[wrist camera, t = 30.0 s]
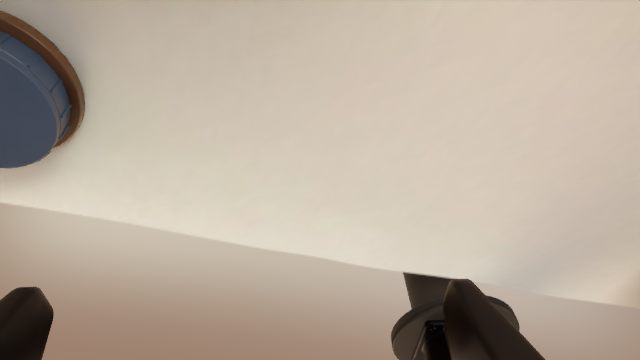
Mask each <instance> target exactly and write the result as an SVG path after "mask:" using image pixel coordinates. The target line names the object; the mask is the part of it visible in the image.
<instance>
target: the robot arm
mask: <svg viewBox="0 0 640 360" xmlns="http://www.w3.org/2000/svg"><path fill="white" fill-rule="evenodd" d="M443 312H444V318H445V320H429V321H426V322H425V323H424V325H423V327H422V330H421V333H420V336H419V339H418V341H417V344H416V347H415V350H414V352H413V355H412V358H411V360H545V359H544V358H543V357H542V356H541V355H540V353H539V352H538V351H537V350H536V349H535V348H534V347H533V346H532V345H531V344H530V343H529V342H528V341H527V340H526V338H525V337H524V336H523V335H522V334H521V333H520V332H519V331H518V330H517V329H516V328H515V327H514V326H513V325H512V324H511V322H510V321H509V320H508V319H507V318H506V317H505V316H504V315H503V314H502V313H501V312H500V311H499V310H498V309H497V307H496V306H495V305H494V304H493V303H492V302H491V301H490V300H489V299H488V298H487V297H486V296H485V295H484V294H483V293H482V292H481V291H480V289H479V288H478V287H477V286H476V285H475V284H474V283H473V282H472V281H471V280H469V279H452V280H451V281H450V283H449V285H448V288H447V291H446V294H445V297H444V300H443ZM52 321H53V309H52V306H51V305H50V303H49V302H48V300H47V299H46V297H45V296H44V294H43V293H42V291H41V290H40V289H39V288H37V287H19V288H16V289H14V290H13V291H11V292H10V293H9V294H7V295H6V296H5V297H4V298H2V299H1V300H0V360H42V356H43V353H44V349H45V345H46V342H47V338H48V335H49V331H50V328H51V324H52Z"/></svg>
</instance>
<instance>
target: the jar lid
mask: <svg viewBox="0 0 640 360" xmlns="http://www.w3.org/2000/svg"><path fill="white" fill-rule="evenodd" d="M62 82H63V81H62V80H60V79H59V77H58V76H57V74H56V73H55V71H54V70H53V69H52V68H51V67H50V66H49V64H48V63H47V62H46V61H45V60H44V59H43V58H42V56H41V55H40V54H37V53H36V52H35V51H33V50H32V49H31V48H29V47H28V46H27V45H25V44H24V43H22V42H20V41H19V40H17V39H16V38H14V37H12V36H11V34H9V33H8V34H6V33H4V32H1V31H0V168H18V167H24V166H28V165H31V164H34V163H36V162H38V161H40V160H41V159H43V158H44V157H45V156H46V155H48V154H49V153H50V151H51V150H52V149H53V147H54V146H55V145H56V143H57V142H58V140H59V139H60V140H61V138H62V137H63V136H64V134H65V133H66V131H67V130H68V129H69V127H70V126H69V125H68V124H69V121H70V113H71V110H70V108H71V107H72V105H71V104H70V102H69V98H68V95H67V92H66V90H65V88H64V86H63V84H62Z"/></svg>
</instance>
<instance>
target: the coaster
mask: <svg viewBox="0 0 640 360" xmlns="http://www.w3.org/2000/svg"><path fill="white" fill-rule="evenodd" d="M0 31H1V32H4V33H6V34H8V33H9V34H11V36H12V37H14V38H16V39H17V40H19V41H20V42H22V43H24V44H25V45H27V46H28V47H29V48H31V49H32V50H33V51H35V52H36V53H37V54H40V55H41V56H42V58H43V59H44V60H45V61H46V62H47V63H48V64H49V66H50V67H51V68H52V69H53V70H54V71H55V73H56V74H57V76H58V77H59V79H60V80H62V81H63V82H62V84H63V86H64V88H65V90H66V92H67V95H68V98H69V102H70V104H71V105H72V107H71V108H70V110H71V113H70V121H69V124H68V125H69V126H70V127H69V129H68V130H67V131H66V133H65V134H64V136H63V137H62V138H61V140H60V139H59V140H58V142H57V143H56V145H55V146H54V147H53V149H55V148H57V147H59V146H61V145H62V144H64V143H65V142H67V141H68V140H69V139H70V138H71V137H72V136H73V134H74V133H75V131H76V130H77V129H78V127H79V126H80V123H81V121H82V119H83V115H84V106H85V102H84V94H83V90H82V87H81V84H80V81H79V79H78V76H77V74H76V73H75V71H74V69H73V67H72V66H71V64H70V63H69V62H68V60H67V59H66V57H65V56H64V55H63V54H62V53H61V52H60V50H59V49H58V48H57V47H56V46H55V45H54V44H53V43H52V42H51V41H49V40H48V39H47V38H46V37H45V36H44V35H42V34H41V33H40V32H38V31H37V30H36V29H34V28H33V27H31V26H30V25H28V24H27V23H25V22H23V21H21V20H19V19H17V18H16V17H14V16H12V15H9V14H7V13H5V12H2V11H0Z"/></svg>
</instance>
